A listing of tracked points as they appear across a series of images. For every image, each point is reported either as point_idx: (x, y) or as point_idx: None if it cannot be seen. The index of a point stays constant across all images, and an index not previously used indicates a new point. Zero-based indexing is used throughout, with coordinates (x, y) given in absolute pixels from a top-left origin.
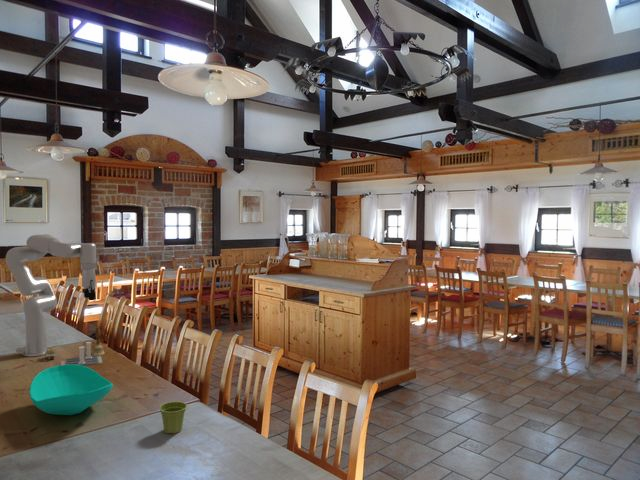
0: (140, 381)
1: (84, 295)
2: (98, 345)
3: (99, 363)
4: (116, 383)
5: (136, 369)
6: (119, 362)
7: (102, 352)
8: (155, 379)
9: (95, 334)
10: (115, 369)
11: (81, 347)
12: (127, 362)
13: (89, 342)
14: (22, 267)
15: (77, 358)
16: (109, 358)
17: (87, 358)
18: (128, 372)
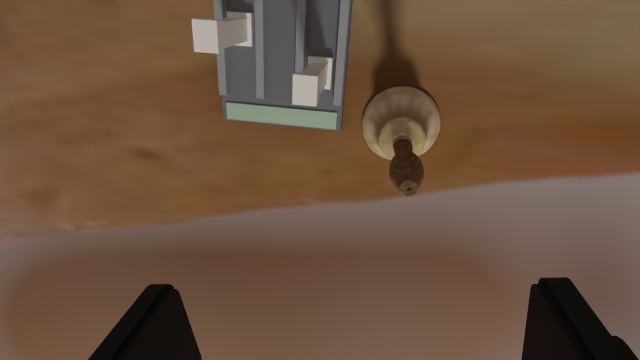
0: (13, 188)
1: (568, 317)
2: (392, 142)
3: (223, 104)
4: (5, 119)
5: (140, 208)
6: (251, 180)
7: (378, 146)
8: (24, 227)
9: (405, 153)
10: (164, 148)
11: (197, 34)
12: (238, 204)
13: (301, 94)
14: None
15: (339, 16)
16: (332, 159)
17: (298, 64)
18: (114, 179)
